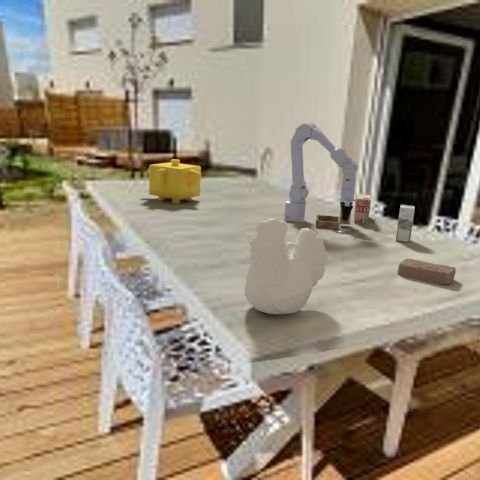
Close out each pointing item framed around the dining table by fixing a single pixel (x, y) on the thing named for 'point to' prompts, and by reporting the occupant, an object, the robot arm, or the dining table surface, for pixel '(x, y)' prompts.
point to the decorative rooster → (283, 268)
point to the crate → (327, 222)
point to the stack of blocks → (362, 209)
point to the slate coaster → (343, 231)
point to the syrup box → (405, 223)
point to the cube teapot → (174, 181)
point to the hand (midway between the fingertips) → (344, 219)
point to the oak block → (342, 219)
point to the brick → (426, 271)
